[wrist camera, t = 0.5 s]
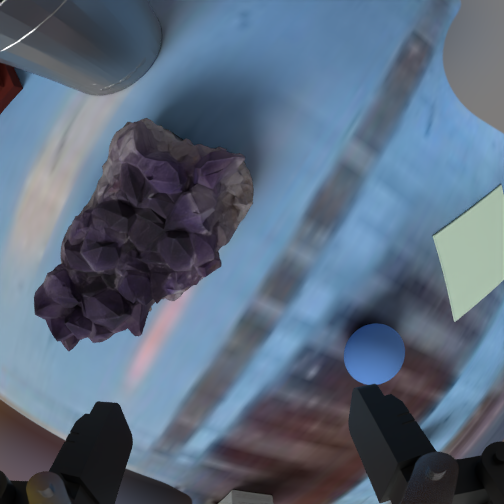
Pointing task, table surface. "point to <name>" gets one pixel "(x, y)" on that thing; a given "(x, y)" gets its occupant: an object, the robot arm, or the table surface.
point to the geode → (143, 233)
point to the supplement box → (246, 498)
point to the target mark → (473, 252)
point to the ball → (374, 354)
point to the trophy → (8, 85)
